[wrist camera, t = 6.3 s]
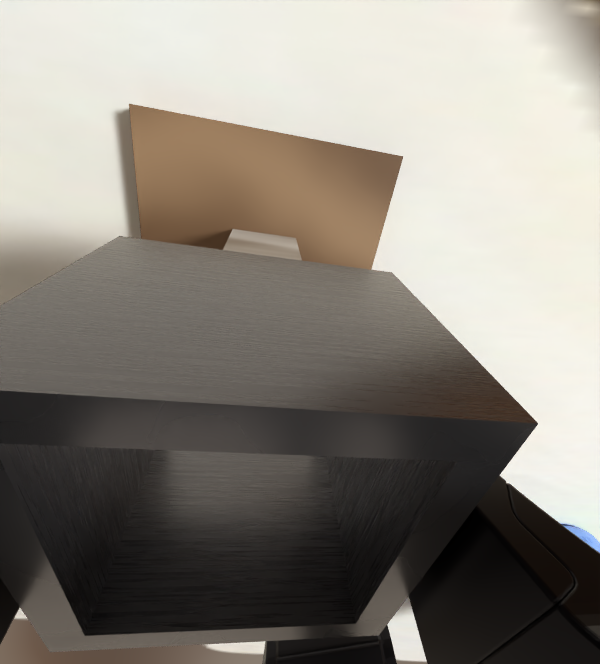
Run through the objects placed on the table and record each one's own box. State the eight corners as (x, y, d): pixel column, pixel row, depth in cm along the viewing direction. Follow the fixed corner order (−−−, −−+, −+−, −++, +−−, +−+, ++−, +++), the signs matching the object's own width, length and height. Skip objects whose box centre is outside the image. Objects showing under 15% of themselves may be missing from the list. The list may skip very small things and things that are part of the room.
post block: (341, 354, 21) (359, 407, 17) (156, 338, 20) (124, 392, 15) (395, 155, 15) (443, 159, 11) (137, 106, 14) (76, 87, 9)
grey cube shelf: (336, 444, 11) (378, 635, 7) (144, 436, 10) (49, 652, 6) (392, 272, 8) (538, 423, 4) (119, 235, 7) (-130, 382, 3)
